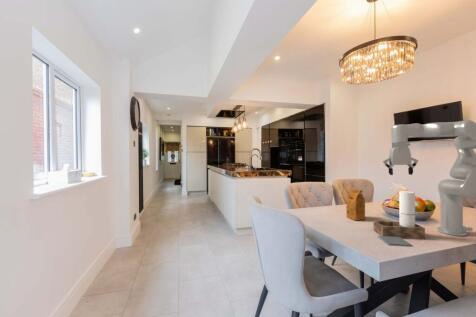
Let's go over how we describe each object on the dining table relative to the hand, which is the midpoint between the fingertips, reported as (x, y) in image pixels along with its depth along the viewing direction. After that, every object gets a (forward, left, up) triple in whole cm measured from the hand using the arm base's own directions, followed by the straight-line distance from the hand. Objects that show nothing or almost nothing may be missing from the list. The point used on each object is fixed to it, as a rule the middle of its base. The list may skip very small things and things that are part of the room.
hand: (400, 174), depth 127 cm
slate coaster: (+11, +13, -35) cm, 39 cm away
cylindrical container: (-2, +1, -35) cm, 35 cm away
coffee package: (+15, -30, -35) cm, 49 cm away
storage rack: (+3, +1, -35) cm, 35 cm away
